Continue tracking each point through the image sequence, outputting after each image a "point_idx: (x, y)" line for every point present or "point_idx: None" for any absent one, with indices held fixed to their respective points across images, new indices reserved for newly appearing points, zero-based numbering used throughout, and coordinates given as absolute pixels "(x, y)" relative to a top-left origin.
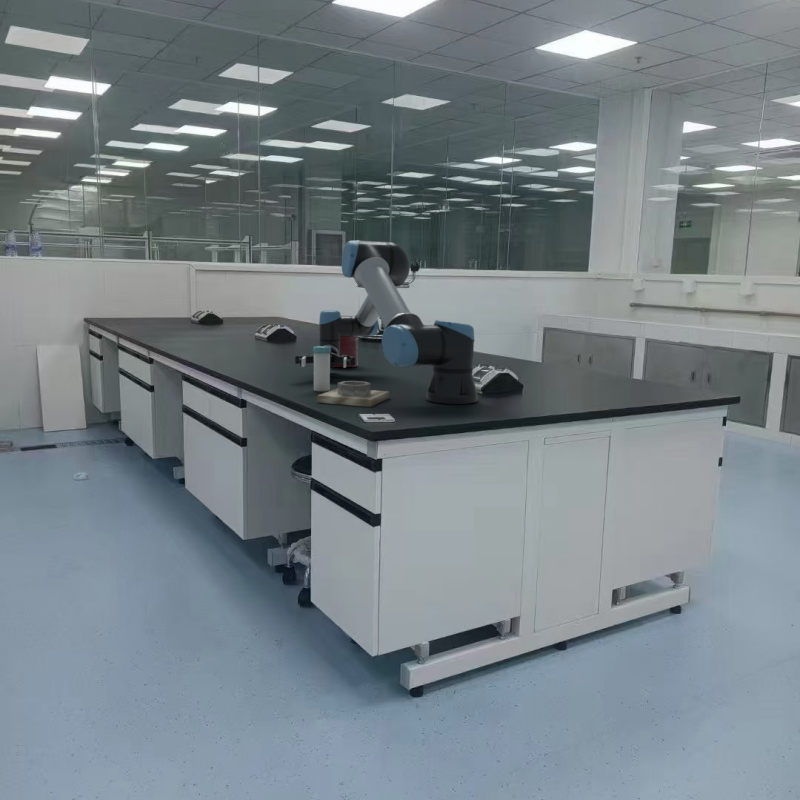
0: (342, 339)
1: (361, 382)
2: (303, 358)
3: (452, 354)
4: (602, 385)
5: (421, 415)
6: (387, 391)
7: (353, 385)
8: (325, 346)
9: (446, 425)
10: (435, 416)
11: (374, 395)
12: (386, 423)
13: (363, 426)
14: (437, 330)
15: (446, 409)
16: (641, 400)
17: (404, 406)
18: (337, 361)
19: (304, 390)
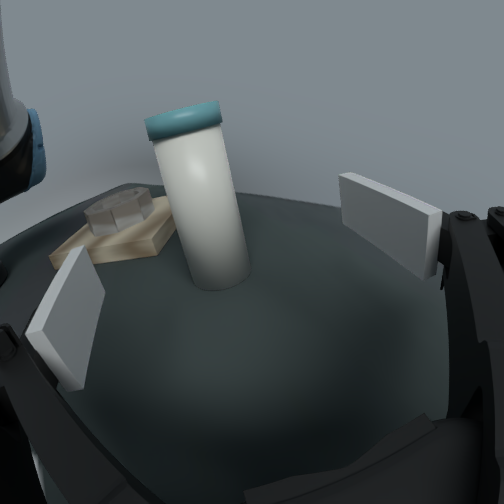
0: None
1: (97, 211)
2: (346, 175)
3: None
4: None
5: (62, 222)
6: (51, 255)
7: (120, 192)
8: (167, 112)
9: (59, 213)
10: (50, 226)
11: (88, 226)
12: (109, 195)
13: (132, 185)
14: None
15: (18, 251)
16: None
17: (58, 240)
18: (140, 485)
19: (276, 251)
